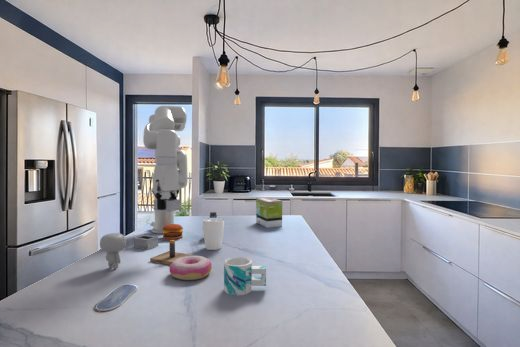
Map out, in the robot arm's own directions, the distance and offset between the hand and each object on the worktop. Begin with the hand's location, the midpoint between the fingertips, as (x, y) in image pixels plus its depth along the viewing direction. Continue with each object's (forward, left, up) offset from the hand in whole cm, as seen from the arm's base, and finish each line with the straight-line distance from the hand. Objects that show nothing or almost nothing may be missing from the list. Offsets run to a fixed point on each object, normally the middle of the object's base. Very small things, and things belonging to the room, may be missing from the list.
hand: (167, 208), depth 124 cm
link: (0, 0, -1) cm, 1 cm away
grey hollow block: (-17, +5, -19) cm, 26 cm away
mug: (+42, -16, -19) cm, 49 cm away
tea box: (+12, +70, -19) cm, 74 cm away
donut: (+21, -13, -19) cm, 31 cm away
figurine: (-7, -20, -19) cm, 28 cm away
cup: (+10, +16, -19) cm, 27 cm away
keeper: (+5, -4, -19) cm, 20 cm away
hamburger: (-17, +22, -19) cm, 34 cm away
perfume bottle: (0, +31, -19) cm, 37 cm away
